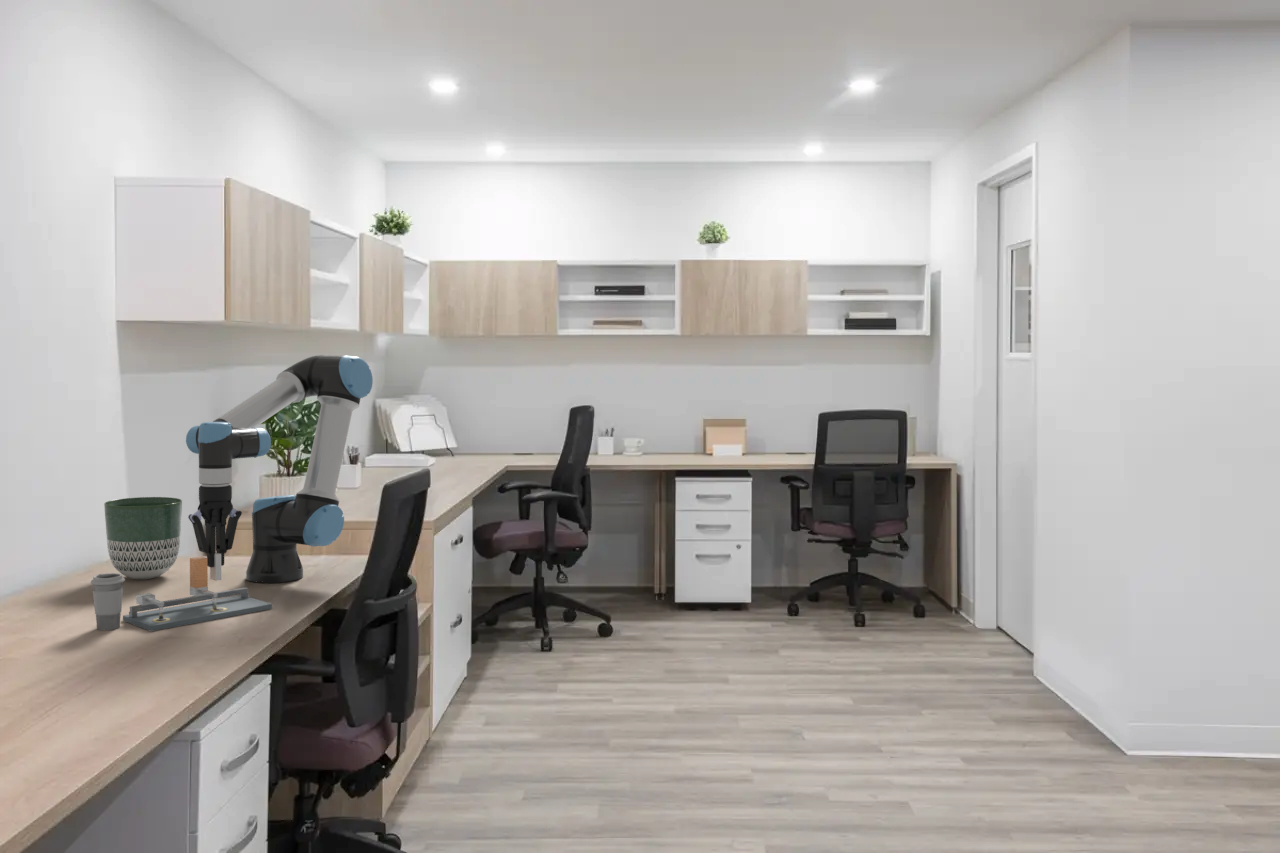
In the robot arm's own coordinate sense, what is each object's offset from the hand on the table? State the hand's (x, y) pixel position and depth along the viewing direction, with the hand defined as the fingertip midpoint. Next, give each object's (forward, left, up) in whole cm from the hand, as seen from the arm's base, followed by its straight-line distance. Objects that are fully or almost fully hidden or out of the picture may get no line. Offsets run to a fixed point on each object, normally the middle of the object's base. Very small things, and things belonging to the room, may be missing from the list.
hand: (215, 579), depth 258 cm
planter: (-4, -46, -7) cm, 47 cm away
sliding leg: (+4, +3, -5) cm, 8 cm away
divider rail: (+6, +3, -6) cm, 9 cm away
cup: (+26, +1, -7) cm, 27 cm away
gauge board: (+6, +4, -7) cm, 10 cm away
